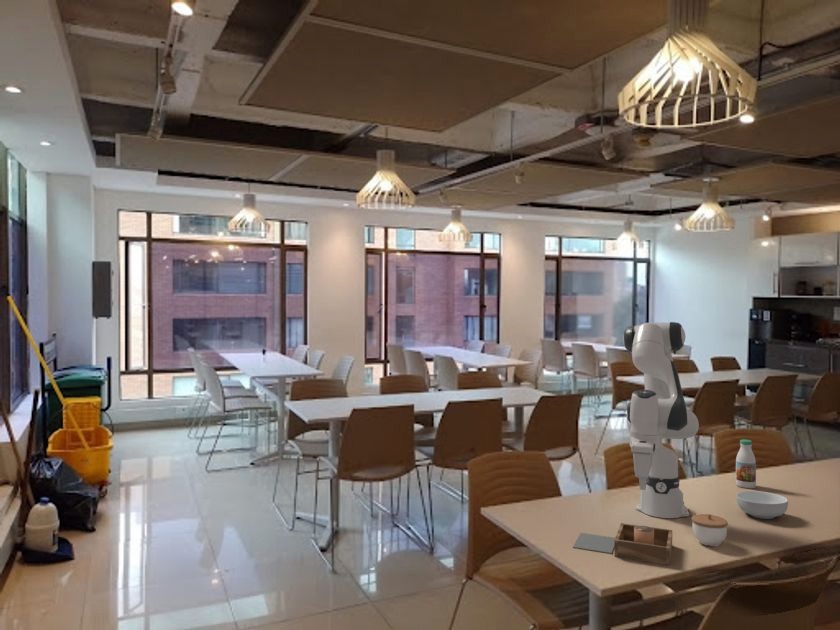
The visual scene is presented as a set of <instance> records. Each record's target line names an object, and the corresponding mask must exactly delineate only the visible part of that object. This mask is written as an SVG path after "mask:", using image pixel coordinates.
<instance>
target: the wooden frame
mask: <svg viewBox="0 0 840 630" xmlns="http://www.w3.org/2000/svg"><path fill="white" fill-rule="evenodd" d="M635 526H640V525H637V524H631V523H630V524H629V523H623V522H620V525H619V527H618V530H617V533H616V535H615V537H614V538H615V540H614V549H613V551H614V552H613V554H614V555H613V556H614V557H618V558H623V559H630V560H638V561H643V562H649V563H655V564H660V565H661V564H662V565H668V566H670V564H671V559H672V558H671V557H672V550H673V529H667V528H659V527H651V526H650V527H651V528H653V529H654V545H652V544H645V543H638V542H634V527H635Z"/></svg>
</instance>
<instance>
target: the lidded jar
mask: <svg viewBox="0 0 840 630" xmlns="http://www.w3.org/2000/svg"><path fill="white" fill-rule="evenodd" d="M728 523H729V522H728V520H727V519H725V518H723V517H720V516H717V515H713V514H711V513H706V514H705V513H704V514H701V513H700V514H694V515H692V516H691V527H692V531H693V535H694V537H695V539H696V540H698V541H699V543H700V544H701V543H702V544H701V545H703V544H704V545H703V546H707V545H710V546H709V547H718V545H719V546H720V544H722V543H723V542H724V541H725V540H726V537H727V534H728V525H729V524H728Z"/></svg>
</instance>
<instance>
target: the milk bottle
mask: <svg viewBox="0 0 840 630" xmlns="http://www.w3.org/2000/svg"><path fill="white" fill-rule="evenodd" d="M739 444H740V448H739V450H738V452H737V455H736V458H735V485H736V486H737V487H739V488H744V489H754V488H756V487H757V486H756V485H757V463H756V457H755V453H754V452H753V449H752V446H753V441H752V440H751V439H750V440H749V439H740V440H739Z"/></svg>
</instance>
